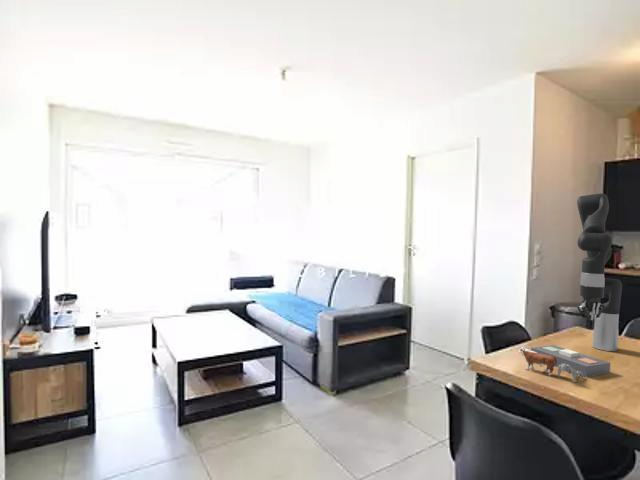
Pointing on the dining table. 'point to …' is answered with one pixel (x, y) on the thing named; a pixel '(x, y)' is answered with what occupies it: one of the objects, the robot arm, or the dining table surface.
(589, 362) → the terracotta button
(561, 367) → the grey human figurine
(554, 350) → the sage button
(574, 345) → the dining table surface
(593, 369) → the button panel
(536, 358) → the bull figurine
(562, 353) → the cream button
